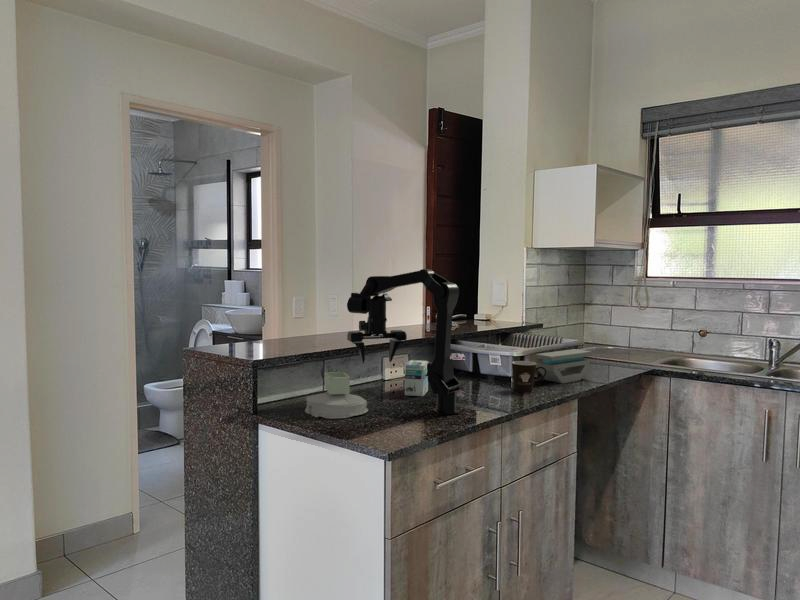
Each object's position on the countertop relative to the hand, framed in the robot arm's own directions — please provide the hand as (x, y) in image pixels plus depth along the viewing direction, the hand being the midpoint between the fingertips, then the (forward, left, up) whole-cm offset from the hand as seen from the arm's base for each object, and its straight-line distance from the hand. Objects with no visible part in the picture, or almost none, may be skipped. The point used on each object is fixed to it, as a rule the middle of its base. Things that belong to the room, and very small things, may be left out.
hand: (376, 362), depth 204 cm
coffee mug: (+2, -57, -13) cm, 58 cm away
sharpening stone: (+17, -81, -13) cm, 84 cm away
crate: (-10, +15, -7) cm, 19 cm away
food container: (-10, +15, -14) cm, 23 cm away
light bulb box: (+8, -17, -13) cm, 23 cm away
